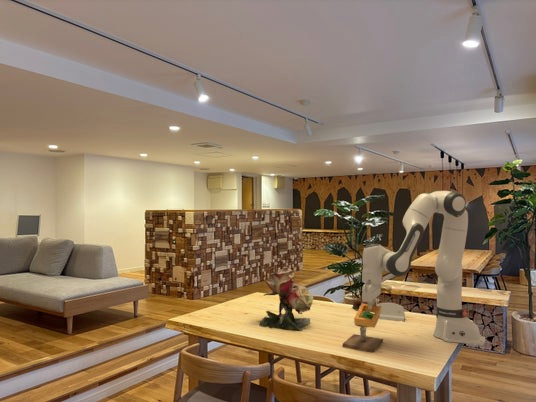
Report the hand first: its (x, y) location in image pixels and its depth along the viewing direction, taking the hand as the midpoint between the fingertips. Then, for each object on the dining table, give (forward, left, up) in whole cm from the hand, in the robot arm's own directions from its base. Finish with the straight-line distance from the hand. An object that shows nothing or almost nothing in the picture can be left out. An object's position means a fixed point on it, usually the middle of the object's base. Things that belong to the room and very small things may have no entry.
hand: (371, 308), depth 184 cm
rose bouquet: (+48, -9, -16) cm, 51 cm away
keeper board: (+2, +5, -16) cm, 17 cm away
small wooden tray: (0, +5, -4) cm, 6 cm away
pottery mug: (+24, -59, -16) cm, 65 cm away
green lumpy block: (+11, -28, -16) cm, 34 cm away
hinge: (+2, -46, -16) cm, 49 cm away
